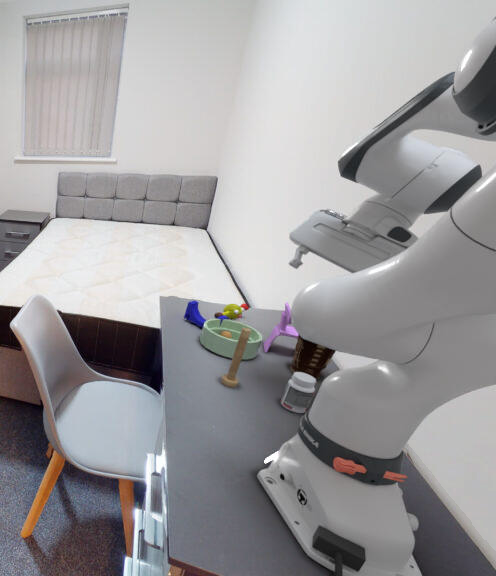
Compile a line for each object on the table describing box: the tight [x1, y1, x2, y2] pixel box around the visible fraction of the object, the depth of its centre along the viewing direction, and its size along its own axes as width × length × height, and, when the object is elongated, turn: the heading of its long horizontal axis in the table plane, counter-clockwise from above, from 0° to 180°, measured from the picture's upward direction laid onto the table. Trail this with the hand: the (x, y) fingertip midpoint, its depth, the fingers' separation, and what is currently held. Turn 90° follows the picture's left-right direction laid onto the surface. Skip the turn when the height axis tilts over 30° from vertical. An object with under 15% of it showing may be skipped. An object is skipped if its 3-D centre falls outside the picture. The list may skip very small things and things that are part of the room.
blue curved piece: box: [183, 300, 228, 329], centre depth 121 cm, size 12×4×6 cm, turn 25°
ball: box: [220, 331, 232, 339], centre depth 113 cm, size 3×3×3 cm
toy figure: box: [213, 302, 250, 321], centre depth 124 cm, size 18×6×7 cm, turn 119°
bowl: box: [199, 318, 264, 360], centre depth 109 cm, size 15×15×6 cm
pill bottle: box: [280, 372, 317, 414], centre depth 85 cm, size 5×5×8 cm
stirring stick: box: [220, 328, 251, 389], centre depth 91 cm, size 4×4×16 cm
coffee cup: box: [289, 332, 337, 380], centre depth 97 cm, size 9×8×13 cm
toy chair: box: [263, 302, 298, 353], centre depth 106 cm, size 8×9×15 cm
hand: (312, 277), depth 80 cm, fingers open, 8 cm apart
